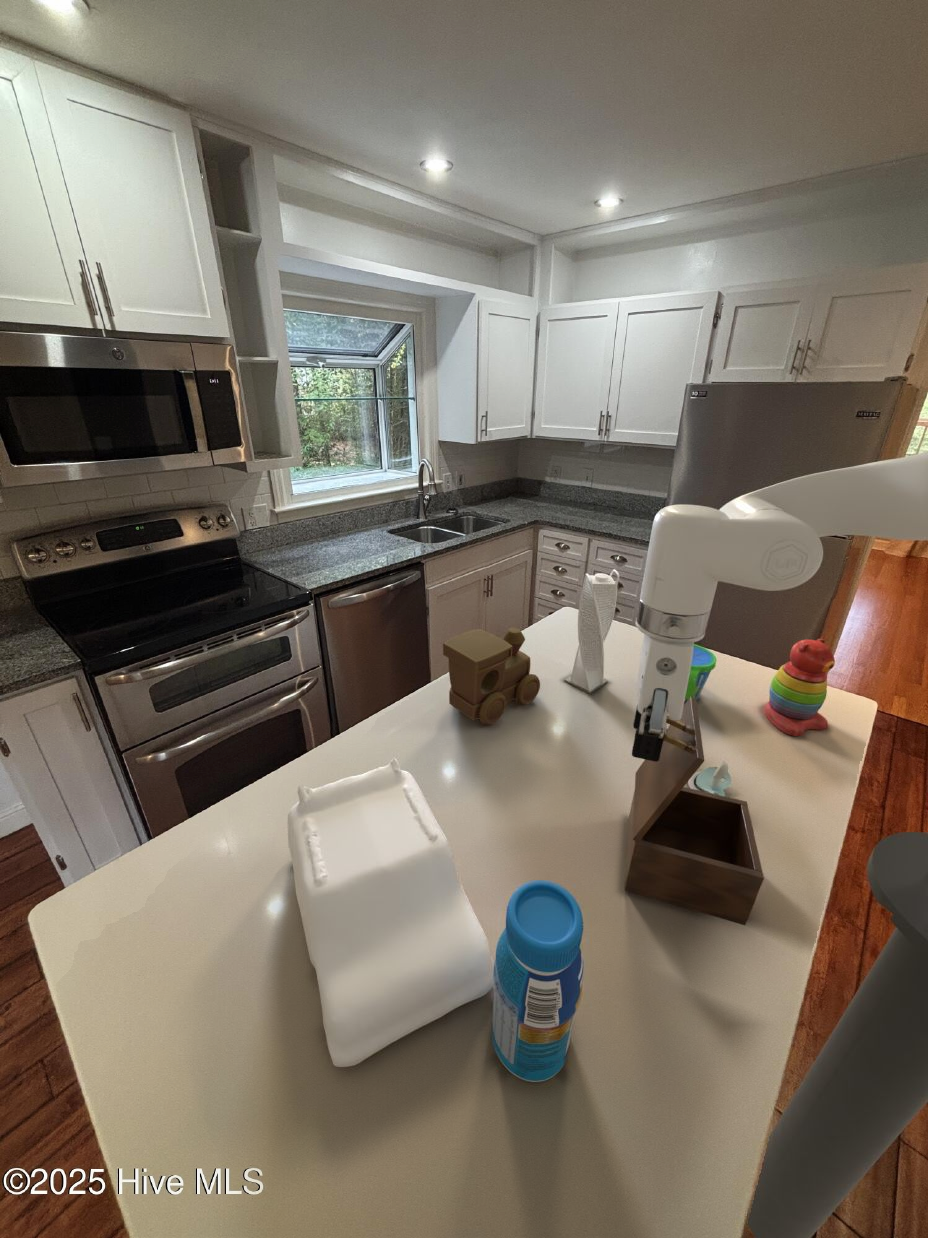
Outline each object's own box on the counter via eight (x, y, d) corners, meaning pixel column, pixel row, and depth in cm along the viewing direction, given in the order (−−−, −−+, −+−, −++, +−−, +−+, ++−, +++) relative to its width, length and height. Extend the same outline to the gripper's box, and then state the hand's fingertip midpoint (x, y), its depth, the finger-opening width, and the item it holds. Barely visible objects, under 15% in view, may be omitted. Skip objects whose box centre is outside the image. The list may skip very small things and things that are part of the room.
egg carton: (410, 806, 80) (407, 740, 74) (504, 991, 56) (509, 914, 50) (287, 849, 73) (273, 779, 67) (333, 1086, 48) (317, 1008, 43)
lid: (696, 698, 66) (659, 682, 67) (704, 760, 55) (661, 740, 56) (640, 775, 74) (608, 759, 75) (638, 842, 63) (600, 823, 64)
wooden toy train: (477, 737, 96) (479, 662, 89) (439, 710, 104) (439, 640, 97) (544, 698, 108) (551, 630, 101) (506, 676, 116) (510, 612, 109)
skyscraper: (612, 684, 113) (632, 568, 101) (592, 698, 108) (610, 577, 96) (581, 670, 119) (596, 558, 107) (561, 682, 114) (574, 566, 102)
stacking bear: (791, 738, 97) (820, 659, 89) (749, 709, 105) (772, 634, 98) (832, 728, 100) (863, 650, 92) (788, 700, 108) (813, 627, 101)
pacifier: (682, 792, 84) (720, 809, 80) (688, 763, 81) (728, 779, 78) (695, 769, 89) (731, 783, 85) (701, 740, 86) (739, 754, 83)
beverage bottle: (473, 1038, 52) (477, 914, 43) (521, 974, 58) (533, 854, 49) (540, 1110, 47) (559, 987, 38) (586, 1033, 52) (612, 910, 44)
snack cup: (707, 719, 102) (718, 677, 98) (653, 707, 106) (661, 666, 101) (705, 681, 115) (715, 642, 111) (657, 671, 119) (664, 633, 114)
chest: (731, 845, 74) (747, 801, 70) (745, 926, 63) (764, 878, 59) (628, 819, 78) (637, 776, 74) (624, 890, 67) (634, 843, 64)
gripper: (715, 657, 48) (679, 797, 56) (701, 594, 63) (673, 712, 71) (635, 645, 50) (610, 781, 58) (638, 586, 65) (618, 701, 73)
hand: (645, 742), depth 64 cm, fingers closed on lid, 5 cm apart
